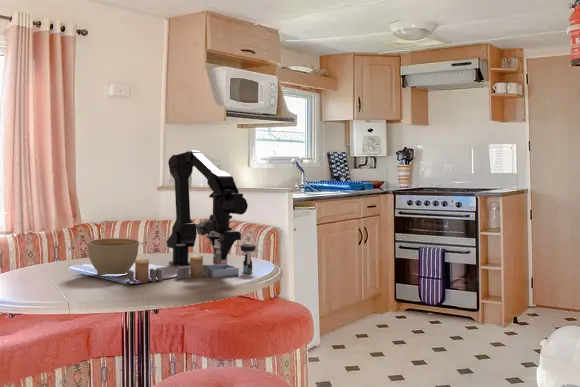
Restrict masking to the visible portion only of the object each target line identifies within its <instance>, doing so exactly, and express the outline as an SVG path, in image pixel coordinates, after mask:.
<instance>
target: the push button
mask: <svg viewBox="0 0 580 387" xmlns="http://www.w3.org/2000/svg"><path fill="white" fill-rule="evenodd" d="M239 247H240V250H241V251H242V252H243V253H245V254H244V260H243V262H242V265H243V267H242V272H243V273H246V274H251V273H252V272H253V261H252V258H251V256H252V254H251V253H253V252H255V251H256V247H257V246H256V245H254V243H253V242H250V241H249V242H247V241H246V242H242V245H241V244H240V246H239Z"/></svg>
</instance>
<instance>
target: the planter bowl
mask: <svg viewBox="0 0 580 387" xmlns="http://www.w3.org/2000/svg"><path fill="white" fill-rule="evenodd" d="M86 244H87V245H86V246H87V254H88V257H89V260H90V263H91V265H92V266H93V268H94V269H95V270H96V273H97V276H99V277H102V276H101V275H105V274H125V273H128V270H131V268H132V267H133V265H134V264H135V260H137V257H138V252H139V245H140V241H139V240H137V239H132V238H117V237H114V238H113V237H112V238H111V237H109V238H96V239H91V240H88V241H87V242H86Z"/></svg>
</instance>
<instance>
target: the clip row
mask: <svg viewBox="0 0 580 387" xmlns="http://www.w3.org/2000/svg"><path fill="white" fill-rule="evenodd" d="M208 265H209V264H203V273H202V277H206V278H208V277H210V276H209V273H210V266H208ZM156 277H157V278H158V280H156ZM150 278H151V279H152V281H151V282H162V281H163V269H162V268H159V267H156V268H155V269H154V268H150V269H149V279H150ZM176 278H177V279H179V280H183V279H190V266H187V265H182V266H177V267H176ZM128 279H129V280H130V281H134V282H135V272H134V271H133V270H132V269H129V270H128V275H127V280H128Z"/></svg>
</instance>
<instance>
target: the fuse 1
mask: <svg viewBox="0 0 580 387" xmlns="http://www.w3.org/2000/svg"><path fill="white" fill-rule="evenodd" d="M134 264H135V266H134V270H135V272H134V280H135V279H136V280H139V281H141V282H142V283H141V284H145V283H149V280H150V269H149V268H150V267H149V266H150V265H149V264H150V259H145V258H141V259H140V258H139V259H136V260H135V262H134Z"/></svg>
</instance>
